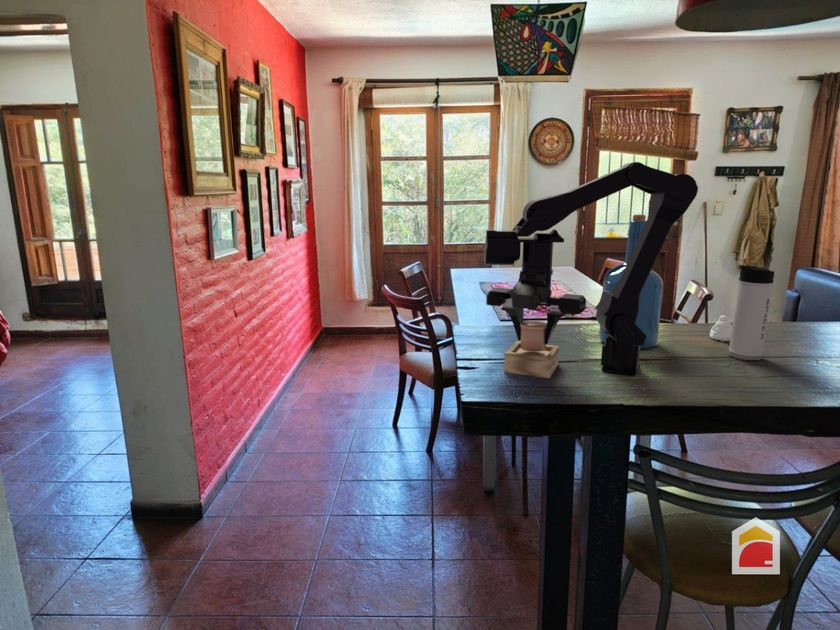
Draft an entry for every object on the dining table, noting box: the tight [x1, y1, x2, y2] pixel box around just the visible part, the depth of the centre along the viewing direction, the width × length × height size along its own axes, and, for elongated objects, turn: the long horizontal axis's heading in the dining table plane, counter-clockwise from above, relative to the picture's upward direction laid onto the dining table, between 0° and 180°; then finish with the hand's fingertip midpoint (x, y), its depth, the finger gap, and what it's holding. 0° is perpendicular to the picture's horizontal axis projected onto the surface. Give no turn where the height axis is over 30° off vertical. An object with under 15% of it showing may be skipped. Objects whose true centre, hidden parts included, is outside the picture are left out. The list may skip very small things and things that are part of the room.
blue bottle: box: [598, 214, 664, 350], centre depth 124 cm, size 14×13×30 cm
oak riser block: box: [503, 340, 560, 379], centre depth 109 cm, size 9×9×4 cm
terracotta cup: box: [519, 320, 547, 351], centre depth 107 cm, size 5×5×5 cm
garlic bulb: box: [709, 315, 733, 341], centre depth 130 cm, size 6×6×6 cm
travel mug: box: [728, 264, 775, 361], centre depth 114 cm, size 6×7×20 cm
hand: (533, 342), depth 108 cm, fingers open, 5 cm apart
